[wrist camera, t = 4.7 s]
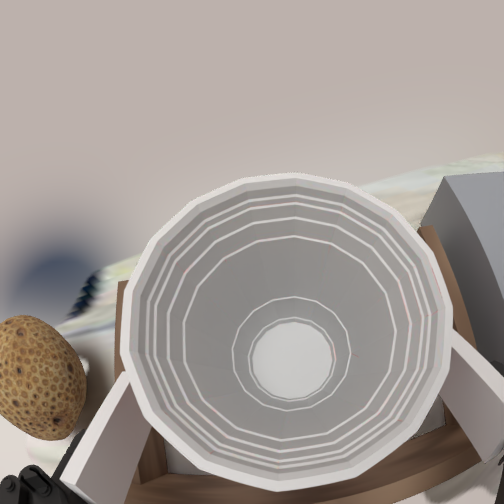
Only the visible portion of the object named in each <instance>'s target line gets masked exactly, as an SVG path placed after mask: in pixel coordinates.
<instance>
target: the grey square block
mask: <svg viewBox="0 0 504 504" xmlns="http://www.w3.org/2000/svg"><path fill="white" fill-rule="evenodd" d="M421 225H422V227H423V226H429V225H433V227H434V229H435V231H436V233H437V236H438V238H439V240H440V242H441V244H442V247H443V249H444V251H445V254H446V256H447V258H448V261H449V263H450V266H451V268H452V271H453V273H454V276H455V279H456V281H457V284H458V287H459V290H460V292H461V295H462V298H463V301H464V304H465V307H466V310H467V314H468V317H469V320H470V324H471V327H472V331H473V335H474V338H475V342H476V346H477V351H478V352H479V353H480V354H481V355H482V356H483V357H484V358H485V359H486V360H487V361H488V362H489V363H490V362H492V361H493V360H496V361H498V362H500V363H502V364H504V172H491V173H477V174H464V175H452V176H444V177H443V179H442V182H441V184H440V186H439V188H438V190H437V192H436V194H435V196H434V198H433V200H432V202H431V204H430V206H429V208H428V210H427V212H426V214H425V216H424V218H423V220H422V221H421Z"/></svg>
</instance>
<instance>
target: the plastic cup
mask: <svg viewBox="0 0 504 504" xmlns="http://www.w3.org/2000/svg"><path fill="white" fill-rule="evenodd" d="M452 330H453V306H452V302H451V299H450V296H449V293H448V290H447V287H446V284H445V282H444V279H443V276H442V273H441V271H440V268H439V265H438V263H437V260H436V258H435V255H434V253H433V251H432V250H431V249H430V248H429V246H428V245H427V244H426V243H425V241H424V240H423V239H422V238H421V237H420V236H419V234H418V233H417V232H416V231H415V230H414V229H413V227H412V226H411V225H410V224H409V223H408V222H407V221H406V220H405V218H404V217H403V216H402V215H401V214H400V213H399V212H398V211H397V210H396V209H394V208H393V207H391V206H389V205H388V204H386V203H384V202H382V201H381V200H379V199H377V198H376V197H374V196H372V195H370V194H368V193H367V192H365V191H363V190H361V189H359V188H358V187H356V186H354V185H352V184H350V183H347V182H342V181H338V180H333V179H329V178H324V177H319V176H314V175H308V174H303V173H298V172H293V173H283V174H273V175H263V176H254V177H245V178H241V179H239V180H236V181H234V182H232V183H229V184H227V185H225V186H222V187H220V188H218V189H215V190H213V191H211V192H209V193H206V194H204V195H202V196H200V197H198V198H195V199H193V200H192V201H190V202H189V203H188V204H187V205H186V206H185V207H184V208H183V209H182V210H180V211H179V212H178V213H177V214H176V215H175V216H174V217H173V218H172V219H170V220H169V221H168V222H167V223H166V224H165V225H164V226H163V227H162V228H161V229H160V230H159V231H158V232H157V233H155V235H153V236H152V237H151V239H150V240H149V242H148V244H147V246H146V248H145V250H144V252H143V254H142V255H141V257H140V259H139V261H138V263H137V265H136V267H135V269H134V271H133V273H132V275H131V277H130V279H129V281H128V284H127V286H126V288H125V290H124V297H123V308H122V321H121V337H120V356H121V359H122V362H123V364H124V367H125V370H126V373H127V376H128V379H129V381H130V384H131V387H132V389H133V392H134V394H135V397H136V399H137V402H138V404H139V407H140V409H141V411H142V414H143V416H144V418H145V419H146V420H147V421H148V422H149V423H150V424H151V425H152V426H153V427H154V428H155V429H156V430H157V431H158V432H159V433H160V434H161V435H162V436H163V437H164V438H165V439H166V440H167V441H168V442H169V443H170V444H171V445H172V446H173V447H174V448H175V449H177V450H178V451H179V452H180V453H181V454H182V455H183V456H184V457H186V458H187V459H188V460H189V461H190V462H191V463H193V464H194V465H195V466H196V467H197V468H199V469H200V470H203V471H206V472H208V473H211V474H214V475H217V476H220V477H223V478H226V479H229V480H233V481H236V482H239V483H243V484H246V485H250V486H254V487H258V488H262V489H266V490H270V491H275V492H280V491H288V490H296V489H303V488H309V487H315V486H320V485H325V484H330V483H335V482H339V481H343V480H347V479H351V478H355V477H357V476H359V475H360V474H362V473H363V472H365V471H366V470H368V469H369V468H371V467H372V466H374V465H375V464H376V463H378V462H379V461H381V460H382V459H383V458H385V457H386V456H388V455H389V454H390V453H391V452H393V451H394V450H395V449H397V448H398V447H399V446H400V445H402V444H403V443H404V442H405V441H407V440H408V439H409V438H410V437H411V436H413V435H414V434H415V433H416V432H417V431H418V429H419V428H420V426H421V424H422V423H423V421H424V419H425V417H426V416H427V414H428V412H429V410H430V408H431V407H432V405H433V403H434V401H435V399H436V397H437V395H438V393H439V391H440V389H441V387H442V385H443V383H444V381H445V379H446V377H447V374H448V372H449V369H450V359H451V347H452Z"/></svg>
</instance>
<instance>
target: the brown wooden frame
mask: <svg viewBox="0 0 504 504" xmlns="http://www.w3.org/2000/svg"><path fill="white" fill-rule="evenodd" d="M417 233H418V234H419V236H420V237H421V238H422V239H423V240H424V241H425V243H426V244H427V245H428V246H429V248H430V249H431V250H432V251H433V253H434V255H435V258H436V260H437V263H438V265H439V268H440V271H441V273H442V276H443V279H444V282H445V284H446V287H447V290H448V293H449V296H450V299H451V302H452V306H453V329H454V330H455V331H456V332H457V333H458V334H459V335H460V336H462V337H463V338H464V339H465V340H466V341H467V342H468V343H469V344H470V345H471V346H472V347H473V348H474V349H475V350H476V351H477V346H476V342H475V338H474V335H473V331H472V327H471V324H470V320H469V317H468V314H467V310H466V307H465V304H464V301H463V298H462V295H461V292H460V290H459V287H458V284H457V281H456V279H455V276H454V273H453V271H452V268H451V266H450V263H449V261H448V258H447V256H446V254H445V251H444V249H443V247H442V244H441V242H440V240H439V238H438V236H437V233H436V231H435V229H434V227H433V225H429V226H423V227H419V229H418V230H417ZM128 281H129V280H126V281H121V282H118V292H117V305H116V322H115V382H116V381H117V379H118V377H119V376H120V374H121V373H122V371H126V370H125V367H124V364H123V362H122V359H121V356H120V337H121V321H122V308H123V297H124V290H125V288H126V286H127V284H128ZM443 405H444V412H445V420H446V425H444V426H442V427H440V428H438V429H435V430H433V431H431V432H429V433H426V434H424V435H421V436H419V437H417V438H414V439H412V440H409V441H406V442H404V443H403V444H402V445H400V446H399V447H398V448H397V449H395V450H394V451H393V452H391V453H390V454H389V455H388V456H386V457H385V458H383V459H382V460H381V461H379V462H378V463H376V464H375V465H374V466H372V467H371V468H369V469H368V470H366V471H365V472H363V473H362V474H360V475H359V476H357V477H355V478H351V479H347V480H343V481H339V482H335V483H330V484H325V485H320V486H315V487H309V488H303V489H296V490H288V491H280V492H275V491H270V490H266V489H262V488H258V487H254V486H250V485H246V484H243V483H239V482H236V481H233V480H229V479H226V478H223V477H220V476H217V475H186V474H172V473H168V470H167V463H166V456H165V448H164V440H163V436H162V435H161V434H160V433H159V432H158V431H157V430H156V429H155V428H154V427H153V426H152V427H151V430H150V433H149V435H148V438H147V441H146V443H145V446H144V449H143V451H142V454H141V457H140V459H139V462H138V465H137V468H136V470H135V473H134V476H133V479H132V482H131V484H130V487H129V490H128V493H127V496H126V499H125V501H124V504H393V503H396V502H398V501H401V500H404V499H406V498H409V497H411V496H414V495H416V494H419V493H421V492H423V491H426V490H428V489H430V488H432V487H434V486H437V485H439V484H441V483H443V482H445V481H447V480H449V479H451V478H452V477H454V476H456V475H458V474H460V473H462V472H463V471H465V470H467V469H469V468H470V467H472V466H474V465H475V464H477V463H479V462H480V461H482V459H481V457H480V456H479V454H478V452H477V451H476V449H475V448H474V446H473V444H472V443H471V441H470V440H469V438H468V437H467V435H466V434H465V432H464V431H463V429H462V427H461V426H460V424H459V423H458V421H457V420H456V418H455V417H454V416H453V414H452V413H451V411H450V410H449V408H448V407H447V405H446V404H445V402H444V401H443Z"/></svg>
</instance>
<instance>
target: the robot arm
mask: <svg viewBox="0 0 504 504" xmlns="http://www.w3.org/2000/svg"><path fill="white" fill-rule="evenodd" d="M438 394H439V395H440V397H441V398H442V400H443V401H444V402H445V404H446V405H447V407H448V408H449V410H450V411H451V413H452V414H453V416H454V417H455V418H456V420H457V421H458V423H459V424H460V426H461V427H462V429H463V431H464V432H465V434H466V435H467V437H468V438H469V440H470V441H471V443H472V444H473V446H474V448H475V449H476V451H477V452H478V454H479V456H480V457H481V459H482V461H483V462H484V464H485V463H487V462H488V461H490V460H491V459H493V458H494V457H495V456H497V455H498V454H499V453H500V452H501V450H502V449H503V448H504V364H502V363H500V362H498V361H496V360H493V361H492V362H490V363H489V362H488V361H487V360H486V359H485V358H484V357H483V356H482V355H481V354H480V353H479V352H478V351H476V350H475V349H474V348H473V347H472V346H471V345H470V344H469V343H468V342H467V341H466V340H465V339H464V338H463V337H462V336H460V335H459V334H458V333H457V332H456V331H455V330H454V329H453V330H452V347H451V359H450V369H449V372H448V374H447V377H446V379H445V381H444V383H443V385H442V387H441V389H440V391H439V393H438ZM151 427H152V425H151V424H150V423H149V422H148V421H147V420H146V419H145V418H144V416H143V414H142V411H141V409H140V407H139V404H138V402H137V399H136V397H135V394H134V392H133V389H132V387H131V384H130V381H129V379H128V376H127V373H126V371H122V373H121V374H120V376H119V377H118V379H117V381H116V382H115V384H114V385H113V387H112V389H111V390H110V392H109V394H108V395H107V397H106V398H105V400H104V402H103V403H102V405H101V407H100V408H99V410H98V412H97V413H96V415H95V417H94V418H93V420H92V422H91V424H90V425H89V427H88V429H87V430H85V429H83V430H82V431H81V432H79V433H78V434H77V435H76V436H75V437H74V439H73V441H72V442H71V444H70V447H68V449H67V451H66V454H64V456H63V458H62V460H61V461H60V463H59V465H58V467H57V468H56V470H55V472H54V474H53V476H52V477H51V478H50V477H49V476H48V475H47V474H46V473H45V472H44V471H43V470H42V469H41V468H40V467H39V466H36V465H29V466H27V467H25V468H24V469H22V471H21V472H20V474H19V476H18V478H17V477H16V476H14V475H8V476H6V477H5V478H4V479H3V480H2V481H1V484H0V504H124V501H125V499H126V496H127V493H128V490H129V487H130V484H131V482H132V479H133V476H134V473H135V470H136V468H137V465H138V462H139V459H140V457H141V454H142V451H143V449H144V446H145V443H146V441H147V438H148V435H149V433H150V430H151ZM503 461H504V455H503V457H502V458H501V459H500V461H499V463H498V465H501V463H502V462H503ZM503 465H504V464H503ZM495 504H504V467H503V472H502V477H501V481H500V485H499V489H498V493H497V497H496V501H495Z"/></svg>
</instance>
